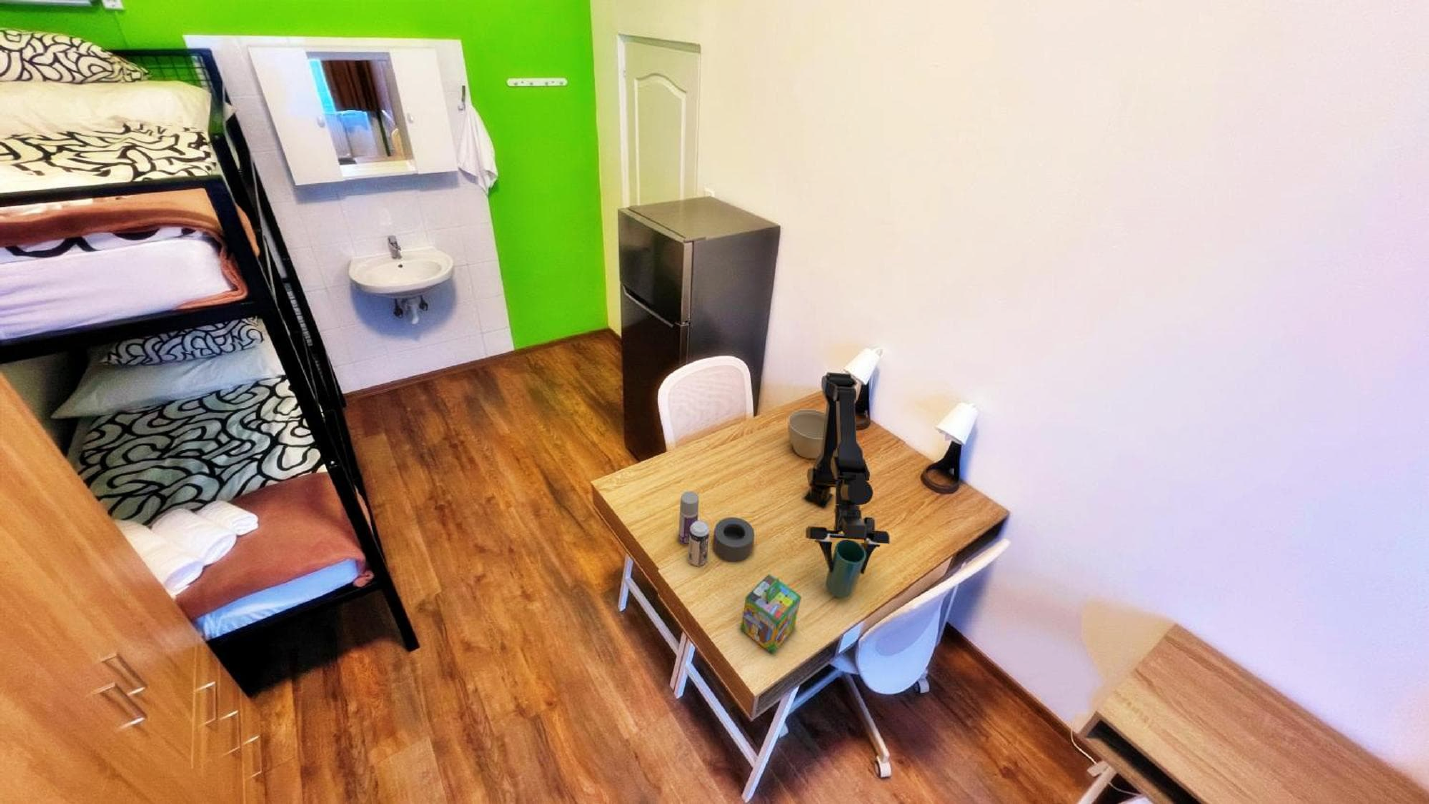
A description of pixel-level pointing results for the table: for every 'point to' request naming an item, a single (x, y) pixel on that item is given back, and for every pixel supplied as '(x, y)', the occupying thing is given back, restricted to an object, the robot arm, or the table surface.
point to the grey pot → (733, 539)
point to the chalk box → (770, 612)
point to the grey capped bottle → (698, 542)
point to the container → (687, 515)
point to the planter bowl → (806, 432)
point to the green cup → (845, 568)
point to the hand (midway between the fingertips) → (846, 572)
